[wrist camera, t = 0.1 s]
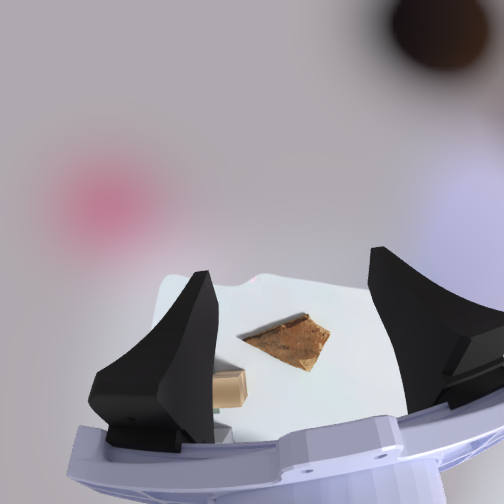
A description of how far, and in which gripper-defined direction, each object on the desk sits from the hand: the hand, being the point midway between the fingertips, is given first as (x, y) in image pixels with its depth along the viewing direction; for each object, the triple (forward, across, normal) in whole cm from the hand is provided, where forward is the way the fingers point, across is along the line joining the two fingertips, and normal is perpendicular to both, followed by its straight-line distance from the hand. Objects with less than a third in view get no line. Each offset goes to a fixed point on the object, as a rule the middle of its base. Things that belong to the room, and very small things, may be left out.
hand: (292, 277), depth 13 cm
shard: (+18, 0, +28) cm, 33 cm away
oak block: (+14, +9, +30) cm, 35 cm away
